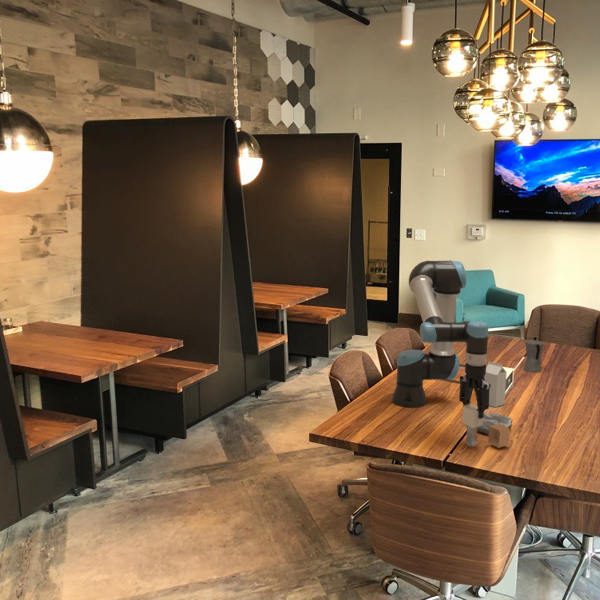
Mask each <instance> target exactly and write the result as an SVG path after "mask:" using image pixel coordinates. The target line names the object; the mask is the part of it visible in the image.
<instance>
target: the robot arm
mask: <svg viewBox="0 0 600 600" xmlns="http://www.w3.org/2000/svg"><path fill="white" fill-rule="evenodd" d="M466 285H467V273H466V268H465V266H464V264H463V262H461V261H459V260H425V261H422V262H419V263H418V264H416V265H415V266H414V267H413V268H412V269H411V272H410V274H409V276H408V286H409V288H410V290H411V292H412V293H413V295H414V297H415V300H416V304H417V307H418V310H419V314H420V317H421V321H422V323H421V324H420V327H419V334H420V339H421V341H422V342H424V343H432V346H431V347H429V349H428V353H425V352H424V350H422V349H407V350H404V351H401V352H400V353H399V354H398V355H397V360H396V365H397V367H396V385H395V389H394V392H393V393H392V396H391V402H392V403H393V404H395V405H396V406H399V407H404V408H405V407H406V408H418V407H423V406H425V405H426V404H427V396H426V394H425V390H424V389H425V388H424V385H423V384H424V381H425V380H426V381H427V380H429V381H439V380H440V381H443V380H449V379H454V378H456V377H457V375H458V372H459V369H460V368H459V364H460V358H459V355H458V354H457V353H456V350H455V349H454V348H453V345H454V344H453V343H465V344H466V345H465V347H466V348H465V364H464V365H465V369H464V373H465V374H464V375H461V376H459V380H460V384H459V398H458V401H459V402H461V403H462V405H463V406H462V407H464V406H469V405H472V404H471V398H472V395H473V392H474V393H475V399H476V406H477V407H478V409H476V419H475V427H479V426H482V418H483V417H484V416H483V415H484V414H485V410H488V409H489V408H490V406H489V389H490V387H491V384H490V383H489V384H487V383H486V382H485V379H484V376H485V374H486V367H487V365H486V364H487V363H488V362H487V359H488V342H489V333H490V332H489V325H488V323H486V322H485V321H480V320H479V321H478V320H476V321H474V320H473V321H470V320H461V321H460V322H458V321H457V322H456V321H455V319H456V308H457V307H456V306H457V305H456V304H457V297H458V296H459V295H460V294H461V289H464V288H466Z"/></svg>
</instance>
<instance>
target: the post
mask: <svg viewBox="0 0 600 600" xmlns="http://www.w3.org/2000/svg"><path fill="white" fill-rule="evenodd" d="M477 435H478V431H477V428H476V427H473V428H472V427H469V426H467V427H466V442H465V444H466V446H468V447H470V448H473V447H475V446H476V447H477V440H478V439H477V437H478V436H477Z"/></svg>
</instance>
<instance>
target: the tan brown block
mask: <svg viewBox="0 0 600 600" xmlns="http://www.w3.org/2000/svg"><path fill="white" fill-rule="evenodd" d="M510 430H511V427H510V428H508V427H506V426H503V425H501V424H496V425H492V426H489V435H488V440H487V441H488V442H487V443H488V444H490V445H492V446H493V447H495V448H497V449H500V448H504V447H505V446H509V442H510Z"/></svg>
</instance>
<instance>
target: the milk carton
mask: <svg viewBox="0 0 600 600" xmlns="http://www.w3.org/2000/svg"><path fill="white" fill-rule="evenodd" d="M484 379H485V382H486V383H487V384H489V383H490V384H491V387H490V389H489V407H491V408H497V407H500V406H503V405H505V400H506V388H507V387H506V386H507V371H506V369H505V368H504V367H503V364H501V363H497V362H493V361H488V364H487V365H486V374H485V376H484Z"/></svg>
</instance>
